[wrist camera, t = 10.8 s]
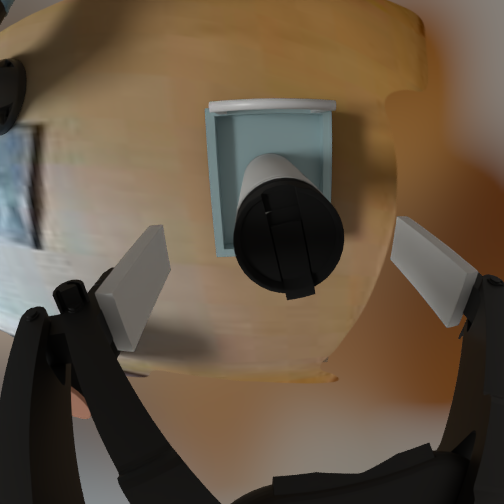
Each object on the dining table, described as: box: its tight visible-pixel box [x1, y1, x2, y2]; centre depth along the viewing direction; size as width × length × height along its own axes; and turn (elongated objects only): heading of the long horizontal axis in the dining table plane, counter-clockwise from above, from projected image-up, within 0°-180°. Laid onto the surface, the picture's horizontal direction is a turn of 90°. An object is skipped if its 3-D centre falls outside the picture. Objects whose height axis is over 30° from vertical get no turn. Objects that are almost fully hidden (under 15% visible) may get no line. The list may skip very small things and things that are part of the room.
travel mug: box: [233, 153, 344, 300], centre depth 24 cm, size 6×7×20 cm
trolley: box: [205, 98, 336, 257], centre depth 30 cm, size 18×14×12 cm
